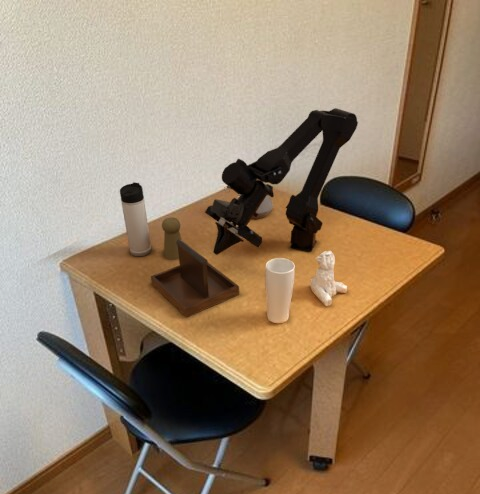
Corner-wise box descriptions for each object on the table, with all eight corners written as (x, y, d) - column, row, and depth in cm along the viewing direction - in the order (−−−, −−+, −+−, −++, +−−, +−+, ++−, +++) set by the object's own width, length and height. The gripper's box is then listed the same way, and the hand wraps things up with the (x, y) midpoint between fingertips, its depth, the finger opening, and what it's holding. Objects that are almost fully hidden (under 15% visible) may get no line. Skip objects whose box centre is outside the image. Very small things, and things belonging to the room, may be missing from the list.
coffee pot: (251, 203, 171) (251, 160, 162) (279, 211, 166) (281, 167, 157) (213, 227, 158) (210, 182, 149) (242, 237, 153) (241, 191, 143)
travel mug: (155, 247, 149) (146, 183, 136) (145, 258, 144) (135, 193, 131) (137, 244, 150) (126, 180, 138) (126, 254, 145) (114, 190, 133)
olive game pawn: (181, 260, 143) (177, 225, 136) (161, 258, 144) (156, 223, 137) (187, 249, 147) (184, 215, 140) (167, 247, 148) (163, 214, 141)
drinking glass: (262, 310, 123) (263, 258, 114) (289, 308, 124) (292, 256, 114) (265, 327, 118) (267, 274, 109) (294, 325, 118) (297, 272, 109)
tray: (201, 265, 140) (199, 226, 133) (239, 294, 129) (238, 253, 121) (151, 284, 133) (145, 244, 125) (186, 317, 121) (182, 275, 114)
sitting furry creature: (327, 308, 124) (332, 267, 116) (299, 294, 128) (302, 254, 121) (348, 291, 129) (354, 251, 122) (321, 279, 134) (325, 240, 126)
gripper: (208, 175, 127) (175, 227, 129) (252, 200, 115) (215, 256, 117) (234, 196, 135) (203, 244, 137) (278, 221, 123) (243, 273, 125)
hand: (214, 253), depth 129 cm, fingers closed
